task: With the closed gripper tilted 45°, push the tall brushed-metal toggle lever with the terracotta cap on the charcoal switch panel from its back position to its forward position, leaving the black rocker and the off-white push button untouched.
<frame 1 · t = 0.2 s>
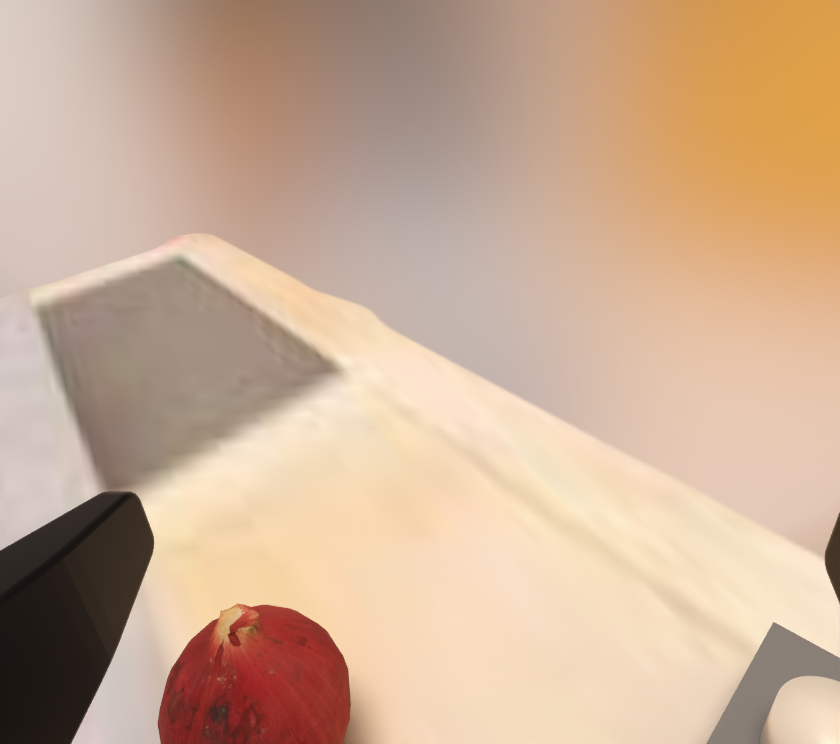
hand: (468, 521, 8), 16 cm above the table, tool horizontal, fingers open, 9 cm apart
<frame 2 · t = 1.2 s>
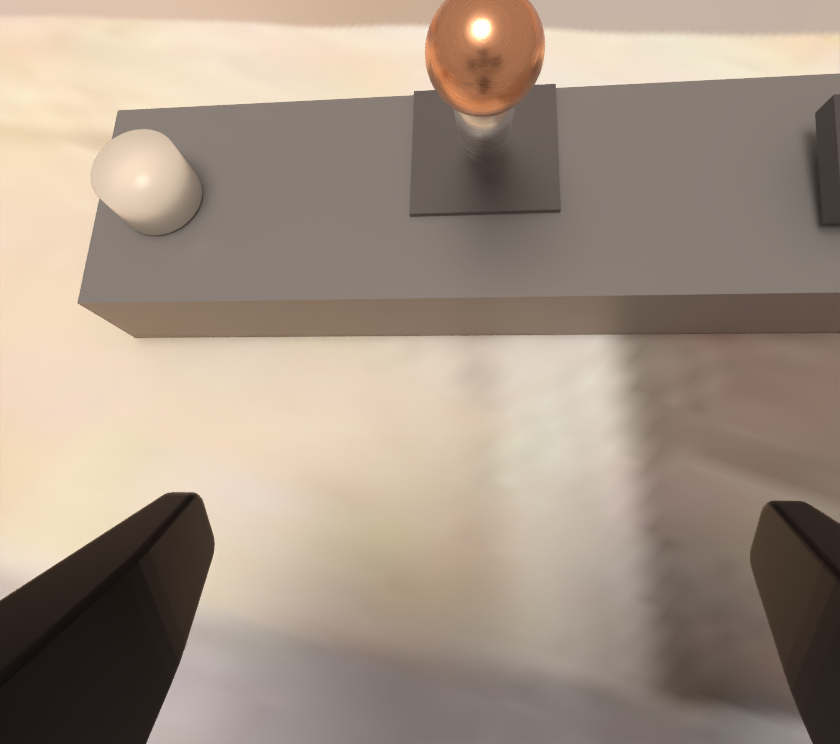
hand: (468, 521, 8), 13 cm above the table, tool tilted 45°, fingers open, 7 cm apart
toggle lever: (484, 80, 14), point 10 cm above the table, hinge at -25.0°
push button: (148, 183, 20), point 5 cm above the table, slide at 0.0 cm
switch panel: (483, 240, 23), on the table
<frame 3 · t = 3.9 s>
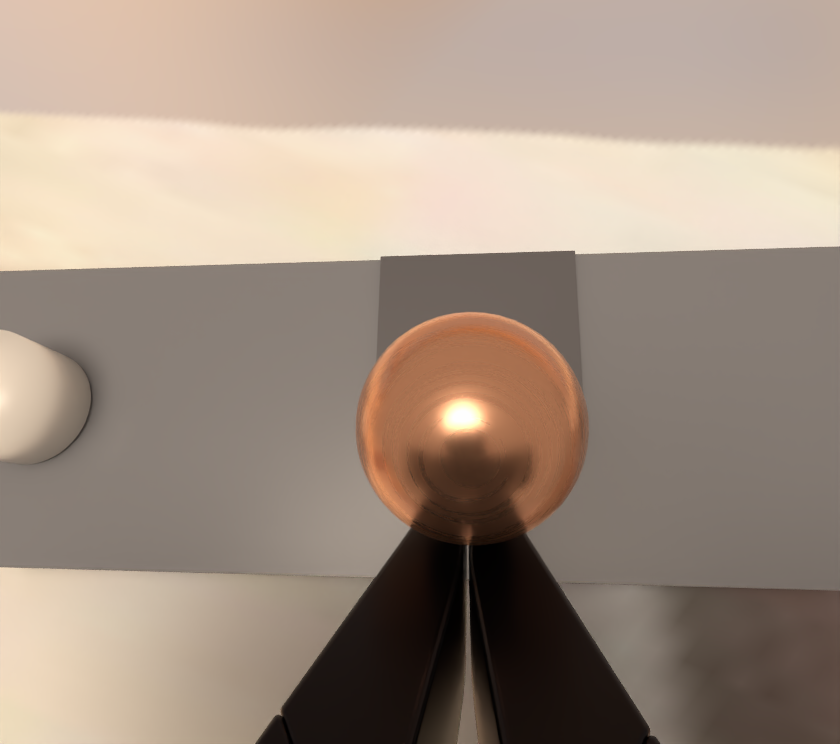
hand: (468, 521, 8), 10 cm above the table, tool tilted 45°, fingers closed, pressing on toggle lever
toggle lever: (472, 396, 8), point 10 cm above the table, hinge at -24.5°, touching gripper
push button: (10, 399, 15), point 4 cm above the table, slide at 0.0 cm
switch panel: (478, 432, 18), on the table
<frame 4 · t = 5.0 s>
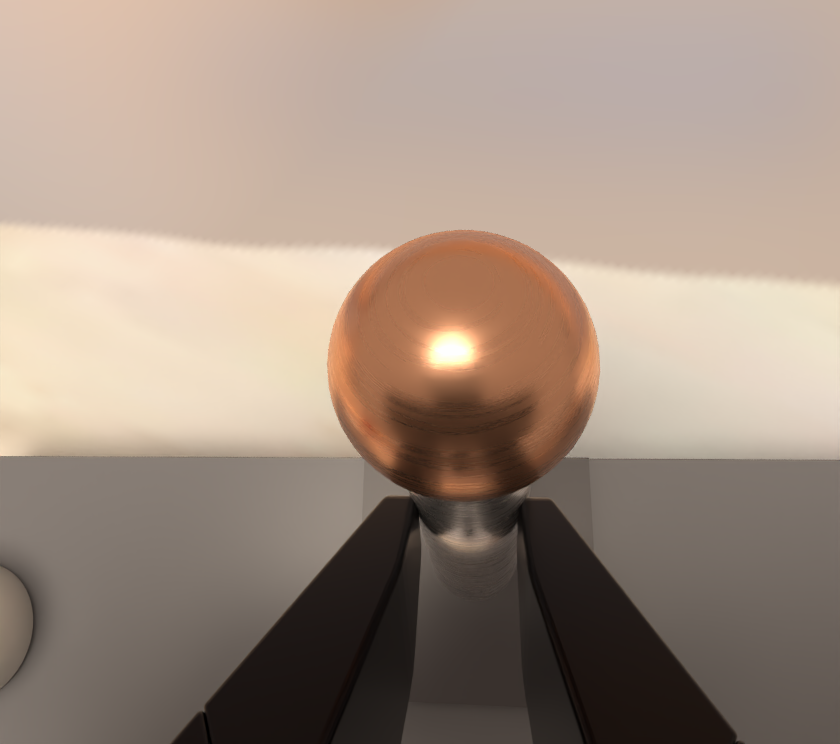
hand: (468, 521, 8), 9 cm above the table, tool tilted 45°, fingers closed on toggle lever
toggle lever: (466, 443, 7), point 10 cm above the table, hinge at 16.7°, touching gripper
switch panel: (477, 622, 16), on the table
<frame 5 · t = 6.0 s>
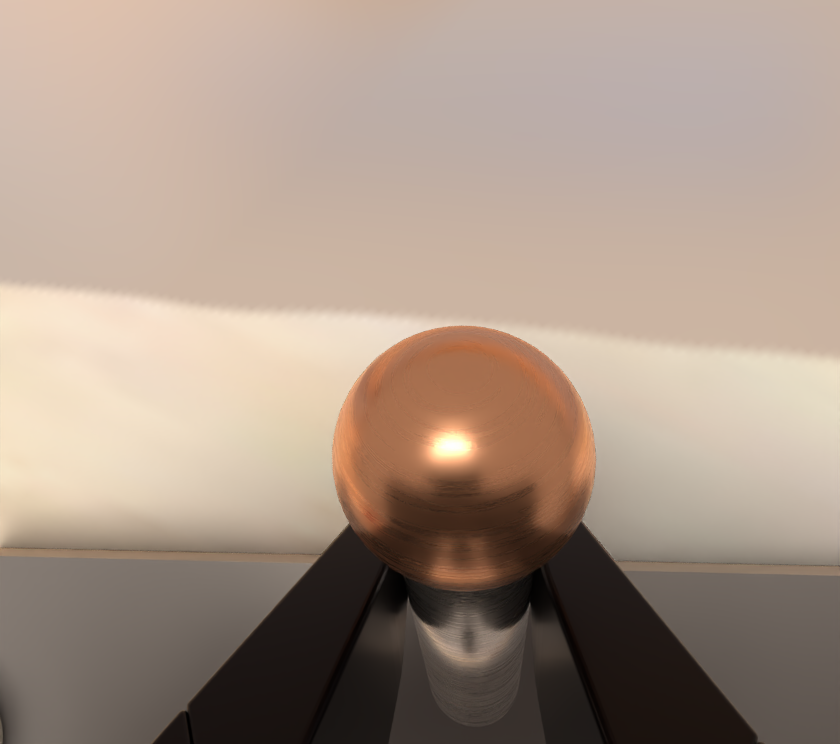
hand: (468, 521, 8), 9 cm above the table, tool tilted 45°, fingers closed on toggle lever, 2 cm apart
toggle lever: (466, 539, 7), point 10 cm above the table, hinge at 28.2°, touching gripper
switch panel: (477, 723, 15), on the table
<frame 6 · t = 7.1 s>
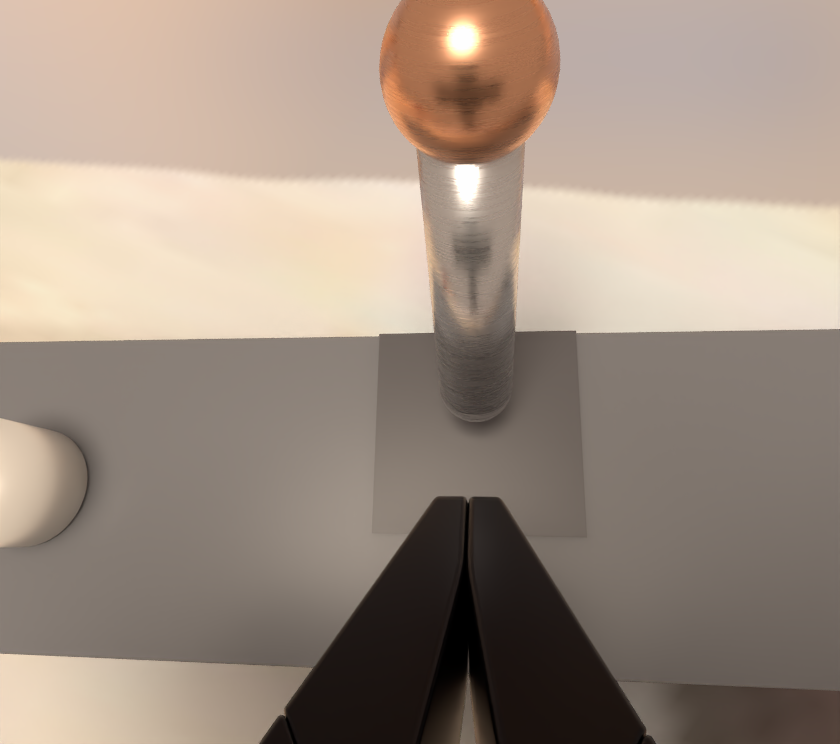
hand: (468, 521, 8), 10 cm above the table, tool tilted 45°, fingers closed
toggle lever: (471, 182, 9), point 10 cm above the table, hinge at 24.7°
push button: (5, 484, 14), point 4 cm above the table, slide at 0.0 cm
switch panel: (478, 500, 18), on the table
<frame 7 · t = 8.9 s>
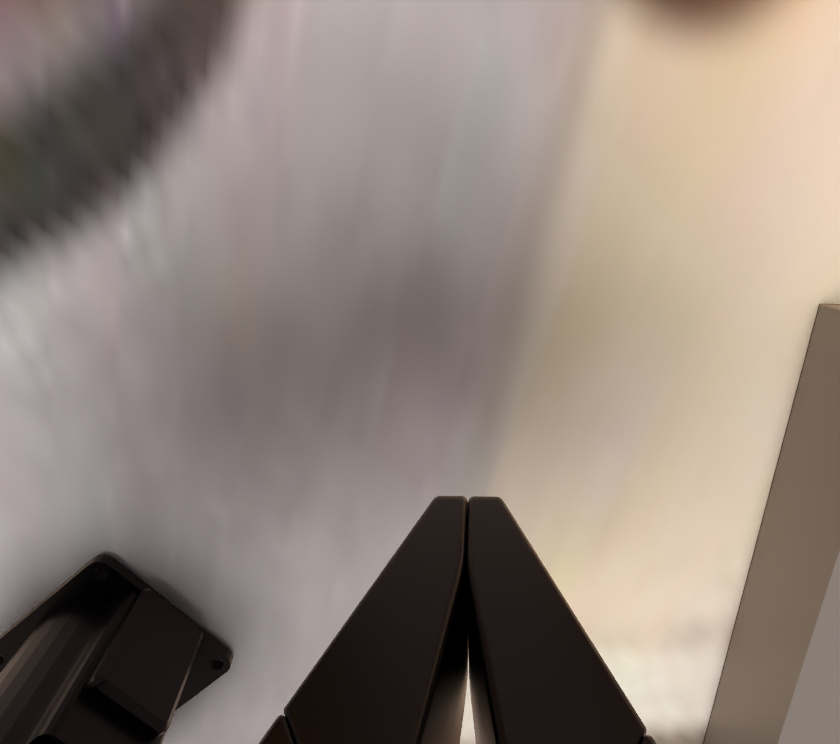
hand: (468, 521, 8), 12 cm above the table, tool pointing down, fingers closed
switch panel: (823, 638, 24), on the table
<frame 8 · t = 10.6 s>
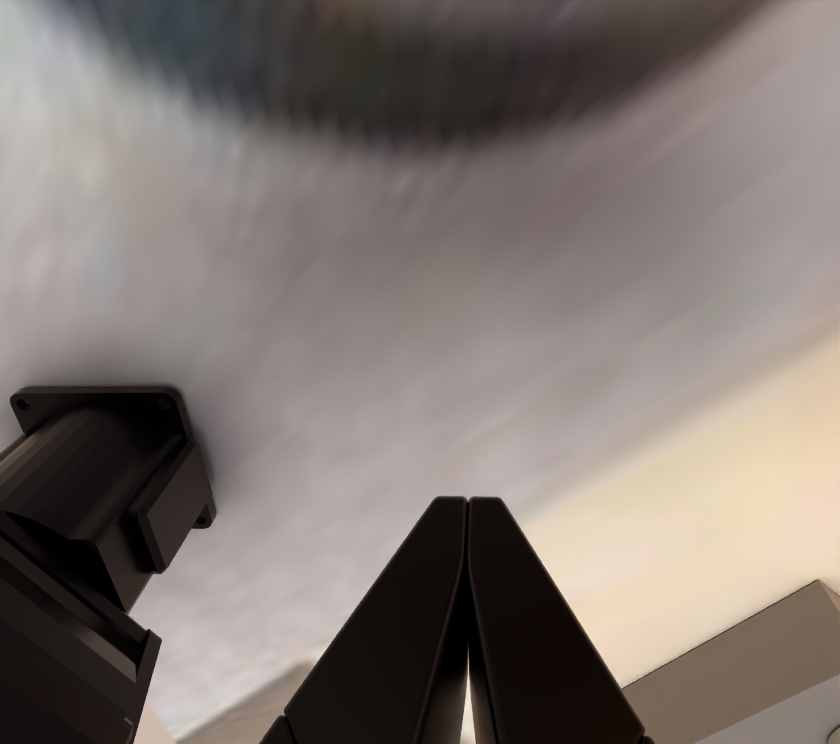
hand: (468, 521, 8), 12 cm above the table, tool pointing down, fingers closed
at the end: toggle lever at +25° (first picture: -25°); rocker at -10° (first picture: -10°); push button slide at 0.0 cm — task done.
